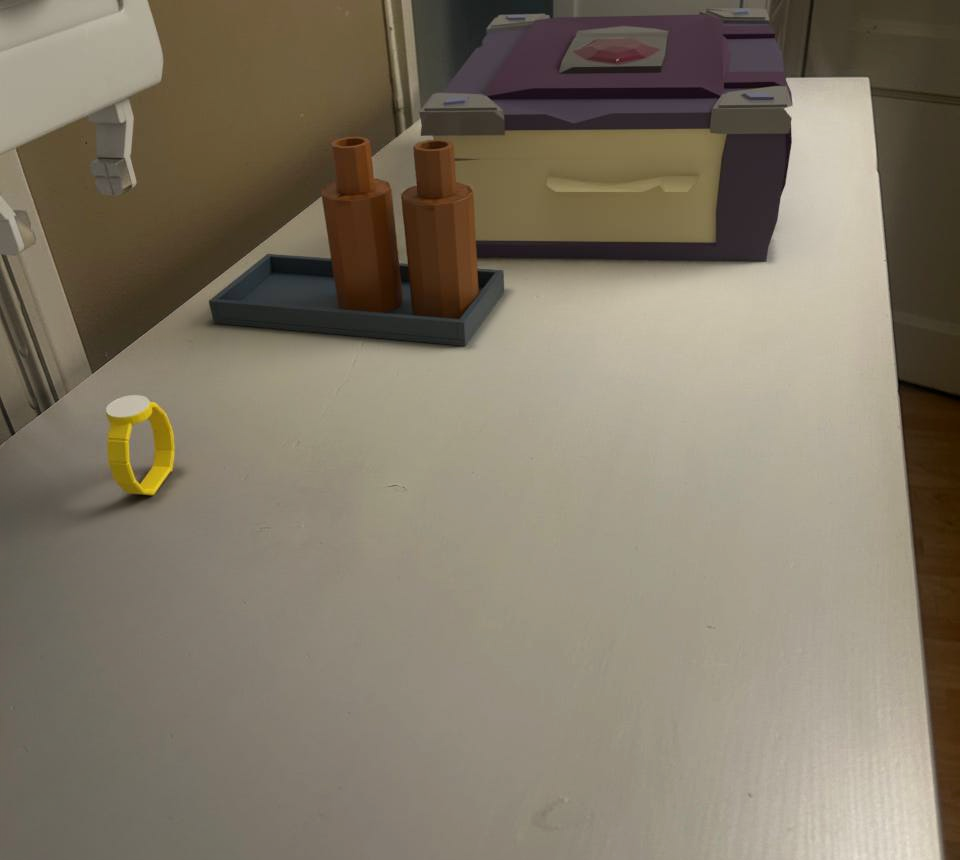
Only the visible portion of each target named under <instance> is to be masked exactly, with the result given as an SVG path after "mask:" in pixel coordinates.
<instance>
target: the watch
mask: <svg viewBox="0 0 960 860" xmlns="http://www.w3.org/2000/svg"><path fill="white" fill-rule="evenodd" d="M105 415H106V418H107V421H108V422H109V429H108V432H107V433H108V434H107V440H106V443H107V444H106V445H107V447H106V448H107V461H108V465H109V468H110V471H111V474H112V477H113V480H114V482H115V483H116V484H117V485H118V487H120V488H121V490H122V491H123V492H124V493H126V494H132V495H133V494H134V495H143V496H154V495H156V493H157V492H158V490H159V488H160V487H161V486H162V484H163V483H164V481H165V480H166V479H167V478H168V476H169V474H170V473H172V472H173V468H174V462H175V455H176V454H175V453H176V451H175V449H176V446H175V437H174V431H173V426H172V424H171V422H170V418H169V417H168V414H167V413H166V411H165V410H164V409H163V408H162V407H161V406H160V405H159V404H158V403H157V402H154V401H150V399H149V398H148V397H146V396H144V395H140V394H129V395H124V396H121V397H119V398H116V399H113V400H112V401H111V402H110V403H108V405H106V408H105ZM146 420H148V422H149V424H150V427H151V429H152V434H153V435H152V436H153V444H154V452H153V453H154V454H153V462H152V466H151V468H150V470H148V472H147V474H146V475H145V476H144V478H143V479H142V481H140V483H139V482H138V480H137V478H136V477H135V474H134V471H133V467H132V465H131V459H130V438H131V434H132V430H133V426H134V425H138V424H140V423H141V424H142V423H143V422H145V421H146Z"/></svg>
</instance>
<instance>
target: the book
mask: <svg viewBox="0 0 960 860" xmlns="http://www.w3.org/2000/svg"><path fill="white" fill-rule="evenodd" d="M698 12H699V13H698V14H662V15H661V14H660V15H658V14H657V15H619V16H618V15H615V16H614V15H613V16H612V15H611V16H610V15H608V16H563V17H562V16H561V17H558V16H557V17H550V14H546V13H522V14H520V13H519V14H518V13H517V14H515V13H514V14H498V15H497V17H494V18H493V20H492V21H491V22H490V23H489V25H488V26H487V27H486V28H485V32H486V33H485V34H486V35H485V36H484V37H483V39H482V40H481V44H480V46H479V47H477V48H475V49H474V50H473V52H472V53H471V55H470V56H469V57H468V58H467V60H466V61H465V62H464V64H463V65H462V66H461V68H459V70H458V71H457V72H456V74H455V76H454V77H453V78H452V79H451V80H450V81H449V83H448V84H447V86H446V87H445V88H444V89H443V91H442V92H436V93H433V94H431V96H430V97H429V98H428V99H427V101H426V102H425V103H424V105H423V106H422V107H421V109H420V110H419V111H418V113H419V118H420V123H421V129H420V137H432V140H439V139H440V140H447V141H451V142H452V143H453V144H454V158H455V174H456V182H457V183H461V184H464V185H468V186H470V188H471V189H472V191H473V196H474V215H475V234H476V254H477V259H479V258H480V259H553V260H554V259H557V260H561V259H562V260H632V261H633V260H635V261H636V260H637V261H638V260H640V261H641V260H643V261H645V260H646V261H714V262H715V261H717V262H718V261H719V262H720V261H724V262H726V261H728V262H729V261H730V262H732V261H733V262H767V259H768V253H769V246H770V244H771V240H772V238H773V234H774V231H775V228H776V226H777V222H778V219H779V217H778V216H779V211H780V205H781V197H782V195H783V192H784V189H785V187H786V183H787V176H788V169H789V163H790V156H791V149H792V143H793V140H792V139H793V137H792V136H793V135H792V119H793V108H794V107H793V103H794V102H793V96H792V91H791V88H790V86H789V83H788V81H787V71H785V67H784V66H785V65H784V58H783V52H782V50H781V49H780V46H779V44H778V42H777V40H776V32H775V29H774V28H773V26H771V25H770V17H769V14H768V10H767V8H762V7H739V8H738V7H736V8H735V7H734V8H732V7H730V8H729V7H724V8H722V7H721V8H719V7H718V8H717V7H715V8H714V7H713V8H712V7H711V8H706V9H705V10H699V11H698Z"/></svg>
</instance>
